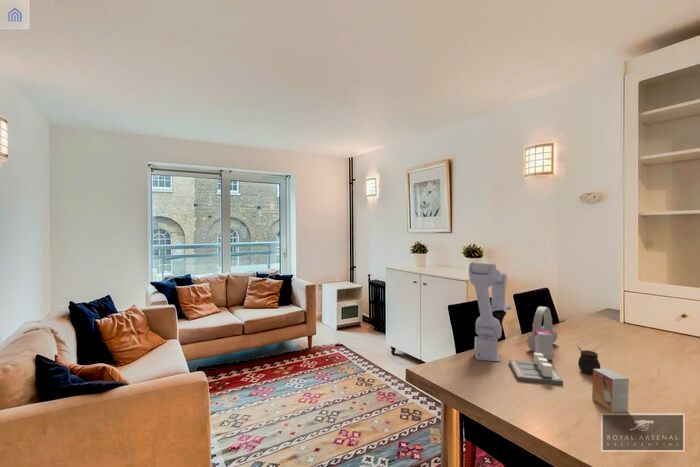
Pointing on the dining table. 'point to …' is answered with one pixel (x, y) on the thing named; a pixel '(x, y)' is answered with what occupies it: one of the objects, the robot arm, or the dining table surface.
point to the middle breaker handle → (541, 360)
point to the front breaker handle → (547, 369)
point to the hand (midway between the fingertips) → (498, 326)
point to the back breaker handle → (537, 355)
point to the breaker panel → (532, 373)
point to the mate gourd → (588, 361)
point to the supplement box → (544, 344)
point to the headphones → (537, 326)
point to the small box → (610, 390)
